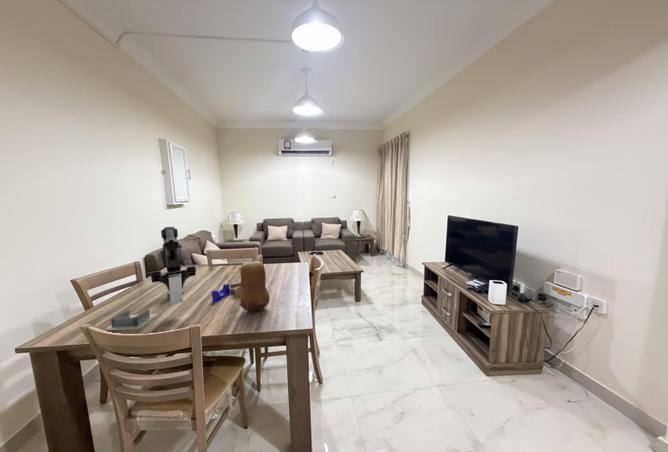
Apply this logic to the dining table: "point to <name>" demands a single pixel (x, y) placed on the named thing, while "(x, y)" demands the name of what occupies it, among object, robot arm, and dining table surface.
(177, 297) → the white upright block
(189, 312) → the dining table surface
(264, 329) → the dining table surface
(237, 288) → the wooden block set
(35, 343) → the dining table surface
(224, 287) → the cable clip
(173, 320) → the dining table surface
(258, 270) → the butternut squash
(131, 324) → the keeper bracket
